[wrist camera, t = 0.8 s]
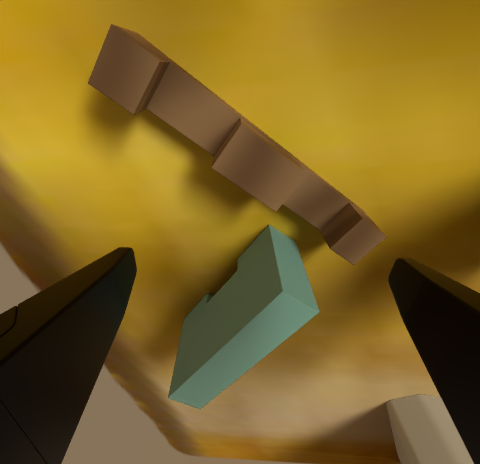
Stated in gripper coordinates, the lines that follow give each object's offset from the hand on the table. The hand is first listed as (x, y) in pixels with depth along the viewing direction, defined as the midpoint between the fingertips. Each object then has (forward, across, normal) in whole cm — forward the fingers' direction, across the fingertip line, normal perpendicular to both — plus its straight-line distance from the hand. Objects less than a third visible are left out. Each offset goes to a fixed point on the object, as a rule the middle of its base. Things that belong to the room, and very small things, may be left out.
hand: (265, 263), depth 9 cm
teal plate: (+12, +1, +12) cm, 17 cm away
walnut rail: (+12, 0, 0) cm, 13 cm away
